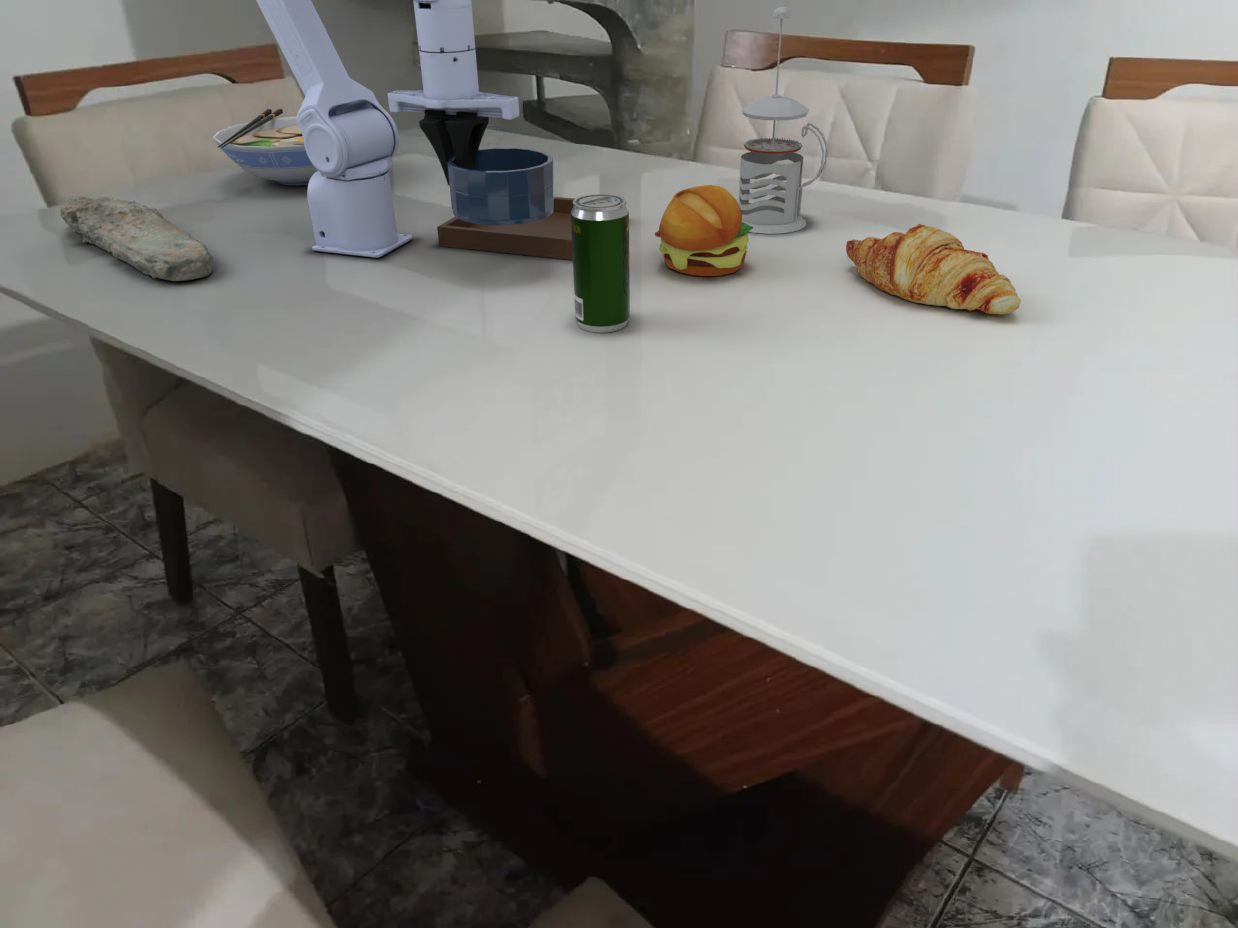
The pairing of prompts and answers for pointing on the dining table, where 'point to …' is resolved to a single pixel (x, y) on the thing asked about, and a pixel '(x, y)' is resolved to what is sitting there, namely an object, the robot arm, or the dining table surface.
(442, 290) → the dining table surface
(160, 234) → the elongated rock
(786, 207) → the french press
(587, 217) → the beer can
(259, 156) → the ramen bowl
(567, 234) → the serving tray
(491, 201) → the blue bowl
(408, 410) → the dining table surface
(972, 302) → the croissant
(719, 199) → the cheeseburger
